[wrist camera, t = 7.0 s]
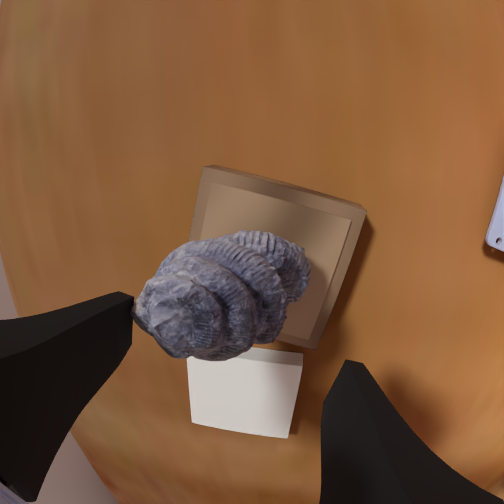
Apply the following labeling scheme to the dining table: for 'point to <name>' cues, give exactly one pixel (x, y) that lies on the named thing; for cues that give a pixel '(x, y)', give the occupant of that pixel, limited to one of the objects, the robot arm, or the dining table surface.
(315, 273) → the walnut base
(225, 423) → the ceramic tile
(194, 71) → the dining table surface
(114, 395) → the dining table surface
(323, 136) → the dining table surface
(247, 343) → the seashell
